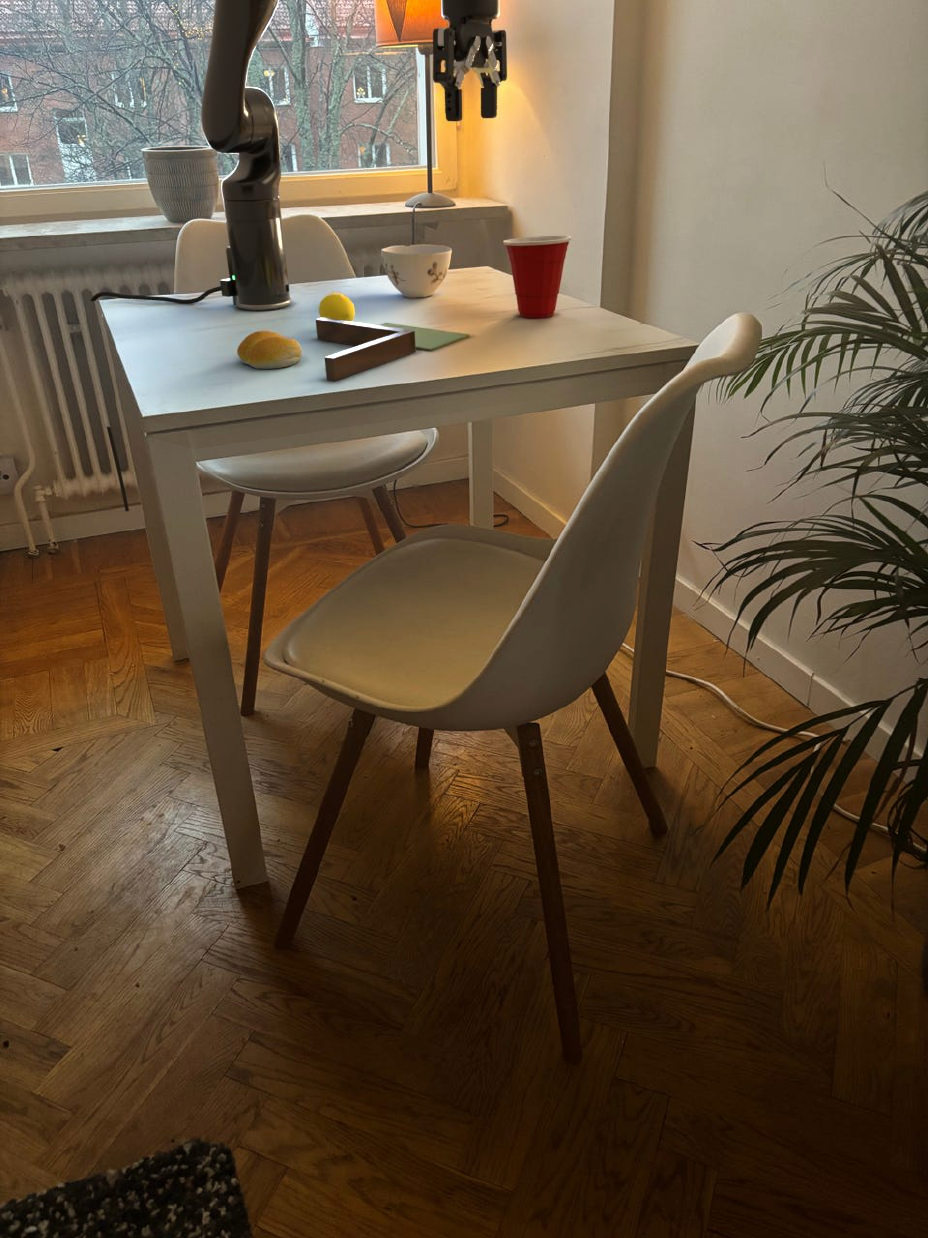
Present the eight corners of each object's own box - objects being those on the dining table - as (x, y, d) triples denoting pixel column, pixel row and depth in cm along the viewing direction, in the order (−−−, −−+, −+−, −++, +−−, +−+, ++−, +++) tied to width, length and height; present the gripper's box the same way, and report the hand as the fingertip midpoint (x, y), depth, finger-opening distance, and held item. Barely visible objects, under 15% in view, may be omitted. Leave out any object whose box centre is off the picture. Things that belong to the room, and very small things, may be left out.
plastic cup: (542, 304, 160) (544, 229, 154) (582, 315, 152) (585, 236, 146) (489, 313, 155) (489, 235, 149) (528, 324, 147) (529, 243, 141)
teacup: (467, 294, 169) (466, 247, 165) (413, 304, 162) (410, 255, 158) (414, 283, 179) (412, 238, 175) (361, 293, 172) (358, 246, 168)
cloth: (345, 337, 142) (345, 335, 142) (386, 324, 149) (386, 322, 149) (430, 350, 134) (430, 348, 134) (469, 336, 141) (469, 334, 141)
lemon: (364, 329, 146) (362, 293, 144) (335, 335, 143) (332, 298, 141) (339, 322, 151) (336, 287, 148) (311, 327, 148) (307, 292, 145)
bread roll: (263, 373, 125) (259, 343, 123) (230, 361, 131) (226, 332, 129) (315, 362, 130) (312, 332, 128) (281, 350, 136) (278, 322, 134)
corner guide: (239, 363, 130) (236, 341, 128) (323, 337, 142) (322, 317, 141) (334, 381, 121) (332, 358, 120) (415, 351, 134) (414, 330, 132)
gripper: (476, -20, 126) (477, 117, 134) (413, -27, 116) (418, 121, 124) (524, -24, 122) (522, 117, 130) (463, -32, 112) (465, 122, 120)
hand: (471, 119), depth 127 cm, fingers open, 8 cm apart
